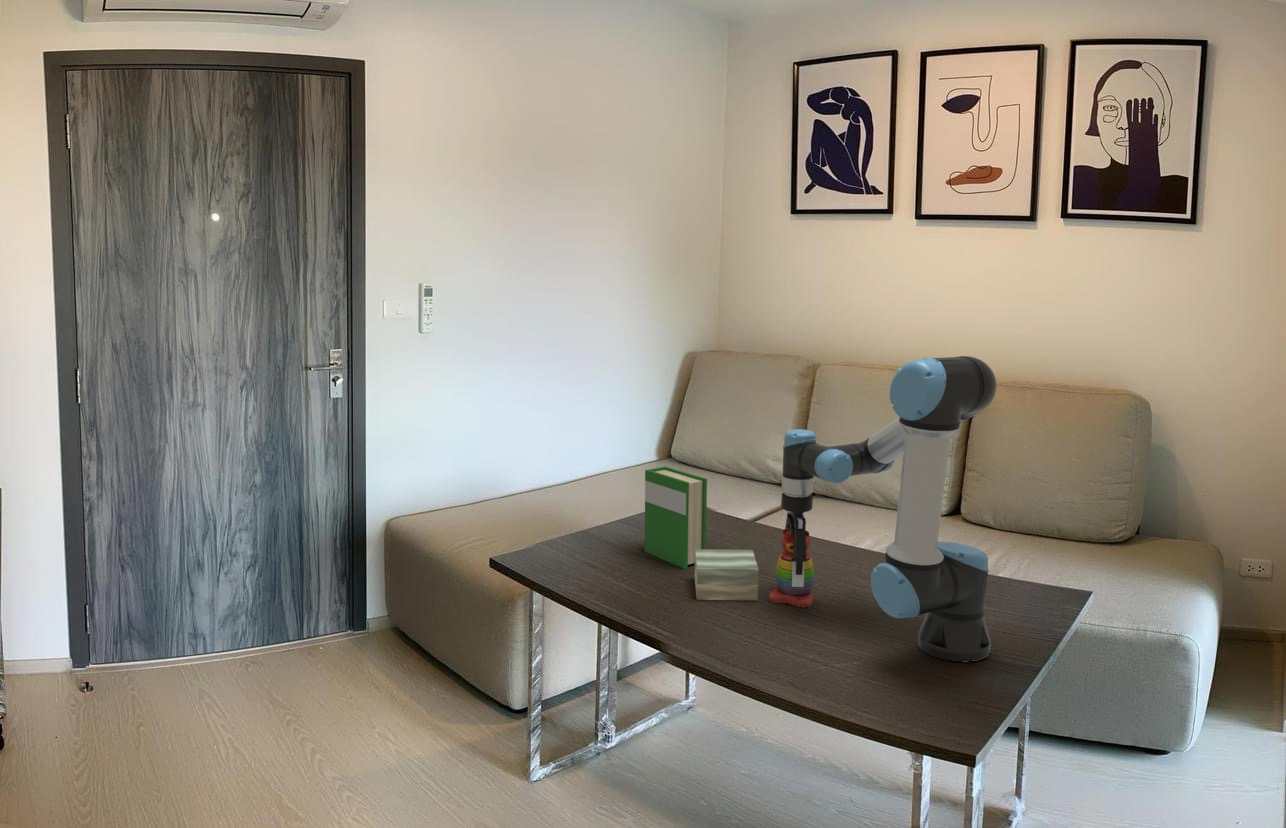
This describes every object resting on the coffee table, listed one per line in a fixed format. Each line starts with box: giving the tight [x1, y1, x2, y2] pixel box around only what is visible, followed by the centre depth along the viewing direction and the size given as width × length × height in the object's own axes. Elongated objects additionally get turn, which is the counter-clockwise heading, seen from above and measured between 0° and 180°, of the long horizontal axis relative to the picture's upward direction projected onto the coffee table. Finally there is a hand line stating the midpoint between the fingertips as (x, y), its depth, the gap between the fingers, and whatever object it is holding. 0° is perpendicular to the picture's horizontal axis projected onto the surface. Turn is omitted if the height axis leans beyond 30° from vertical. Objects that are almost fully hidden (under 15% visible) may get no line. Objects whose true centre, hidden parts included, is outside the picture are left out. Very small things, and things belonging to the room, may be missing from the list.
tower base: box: [694, 548, 760, 601], centre depth 240 cm, size 15×15×8 cm
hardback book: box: [644, 466, 708, 570], centre depth 262 cm, size 18×7×24 cm, turn 38°
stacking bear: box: [767, 528, 815, 609], centre depth 233 cm, size 11×10×18 cm
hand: (793, 576), depth 234 cm, fingers open, 13 cm apart
